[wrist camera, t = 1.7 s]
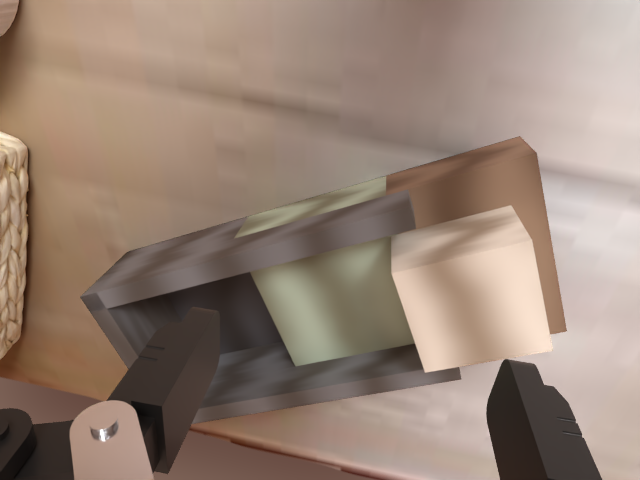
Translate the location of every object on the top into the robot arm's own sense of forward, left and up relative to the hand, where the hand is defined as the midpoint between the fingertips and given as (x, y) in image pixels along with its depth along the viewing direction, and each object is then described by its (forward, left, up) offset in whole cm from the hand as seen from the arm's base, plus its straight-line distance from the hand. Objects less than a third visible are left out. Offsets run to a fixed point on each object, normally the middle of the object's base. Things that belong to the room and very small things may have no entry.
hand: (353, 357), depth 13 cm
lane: (+7, +10, -23) cm, 26 cm away
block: (-3, +10, -19) cm, 22 cm away
